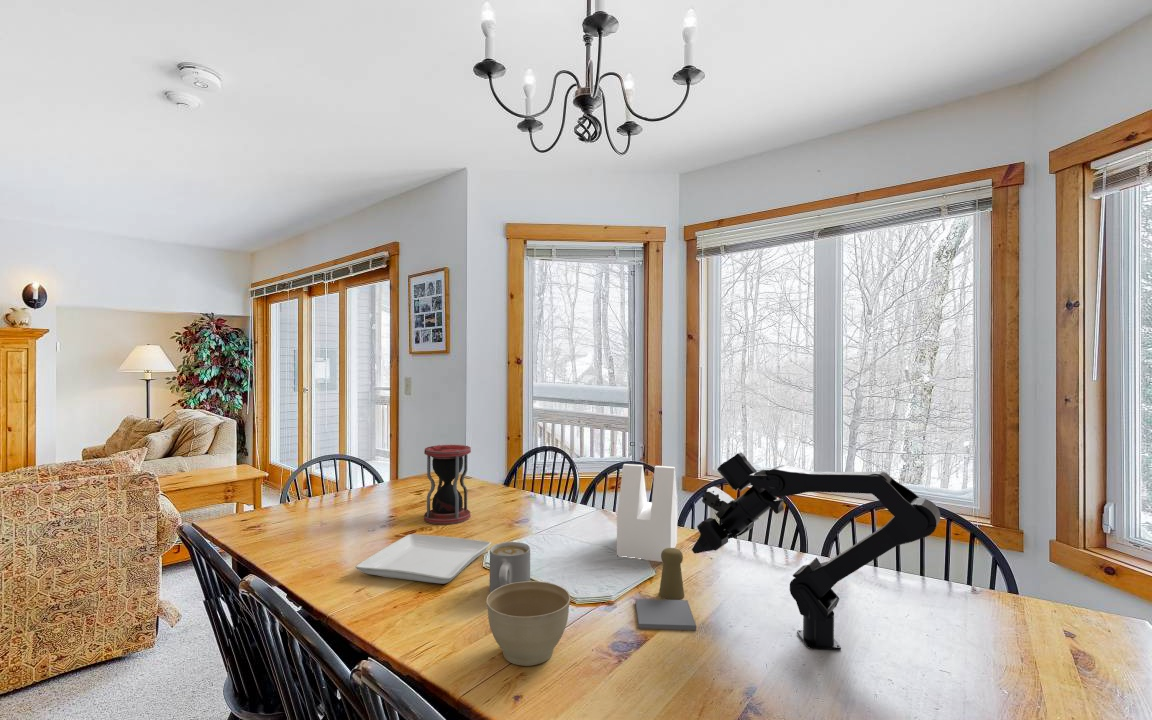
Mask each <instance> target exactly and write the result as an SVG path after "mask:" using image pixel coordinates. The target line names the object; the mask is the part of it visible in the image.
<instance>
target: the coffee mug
mask: <svg viewBox="0 0 1152 720" xmlns="http://www.w3.org/2000/svg"><path fill="white" fill-rule="evenodd" d="M525 581H531V546H530V545H529V544H527V543H524V542H519V541H505V542H499V543H497V544H494V545H492V546H491V547H490V548H489V594H490V593H491V592H492V591H494V590H495V589H497V588H499V587H501V586H504V585H507V584H511V583H516V582H525Z"/></svg>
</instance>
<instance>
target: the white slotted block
mask: <svg viewBox="0 0 1152 720" xmlns="http://www.w3.org/2000/svg"><path fill="white" fill-rule="evenodd" d="M676 475H677V474H676V467H675V466H668V465H667V466H665V465H655V466H654V471H653V483H652V484H653V485H652V493H651V494H652V496H651V501H648V499H647V491H646V490H647V489H646V480H645V472H644V464H636V463H624V464H623V465H622V472H621V479H620V488H619V489H620V490H619V497H618V506H617V514H616V515H617V516H616V556H617V555H618V556H627V557H635V558H641V559H646V560H645V561H651V562H653V561H654V562H658V563H659V562H660V563H661V562H662V563H663V561H662V559H661V553H662V551H663V550H664V549H666V548H676V546H677V543H678V492H677V477H676ZM641 559H640V560H641Z"/></svg>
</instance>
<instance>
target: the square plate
mask: <svg viewBox="0 0 1152 720" xmlns="http://www.w3.org/2000/svg"><path fill="white" fill-rule="evenodd" d="M491 545H492V542H491V541H485V540H479V539H478V540H477V539H469V538H462V537H453V536H443V535H431V534H430V535H429V534H428V535H427V534H416V533H411V534H410V533H409V534H407V535H406V536H404V537H402V538H400V539H397V540H395V542H393V543H391V544H388V545H386V546H385V547H383V548H382V549H381V550H379V551H377V552H376V553H374V554H372V555H371V556H369V557H367V558H366V559H364V560H363V561H361V562H359V563H358V564H357V565H355V566H354V567H355V569H357V570H358V571H359V572H361V573H363V574H367V575H374V576H380V577H384V578H390V579H391V578H392V579H397V580H407V581H417V582H424V583H432V584H442V585H443V584H444V585H445V584H447V583H450V582H451V581H452V580H453V579H454V578H456V577H457V576H458V575H459V574H460V573H461V572H463V570H464V569H465V568H466V567H467V566H469V565H470V564H471V563H472V562H474V561H475V560H476V559H477V558H478V557H480V556H481V555H483V553H485V552H486V550H487V549H488V548H489V547H490V546H491Z"/></svg>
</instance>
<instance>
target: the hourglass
mask: <svg viewBox="0 0 1152 720" xmlns="http://www.w3.org/2000/svg"><path fill="white" fill-rule="evenodd" d="M471 448H472V447H471V446H468V445H463V444H441V445H440V444H438V445H433V446H427V447H425V448H424V455H426V460H427V462H426V476H427V478H428V480H429V481H430V484H431V485H430V490H429V491H428V492H427V496H426V512H425V513H424V514H423V520H424V522H425V523H428V524H432V525H453V524H459V523H464V522H466V521H468V520H469V519H470V518H471V511H470V510H469V509H468V489H467V486H466V485H465V482H464V480H465V477H466V474H467V473H468V455H469V454H471V453H472V451H471V450H472V449H471ZM431 458H432V460H431ZM431 461H432V464H431ZM431 465H432V466H431ZM431 467H432V470H433V471H434V474H435V475H436V476H437V477H438V485H437V489H436V490H437V491H436V492H435V493H434V496H433V497H432V503H431V496H432V493H433V492H434V491H435V487H436V482H435V480H434V479H433V478H432V476H431V475H432V474H431ZM461 471H463V472H462V474H461V475H460V473H461ZM459 475H460V477H459ZM458 481H459V483H460V486H461V487H462V489H463V496H464V497H463V496H462V494H461V492H460V491H459V490H458ZM452 482H453V483H452ZM431 508H432V509H431Z"/></svg>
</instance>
